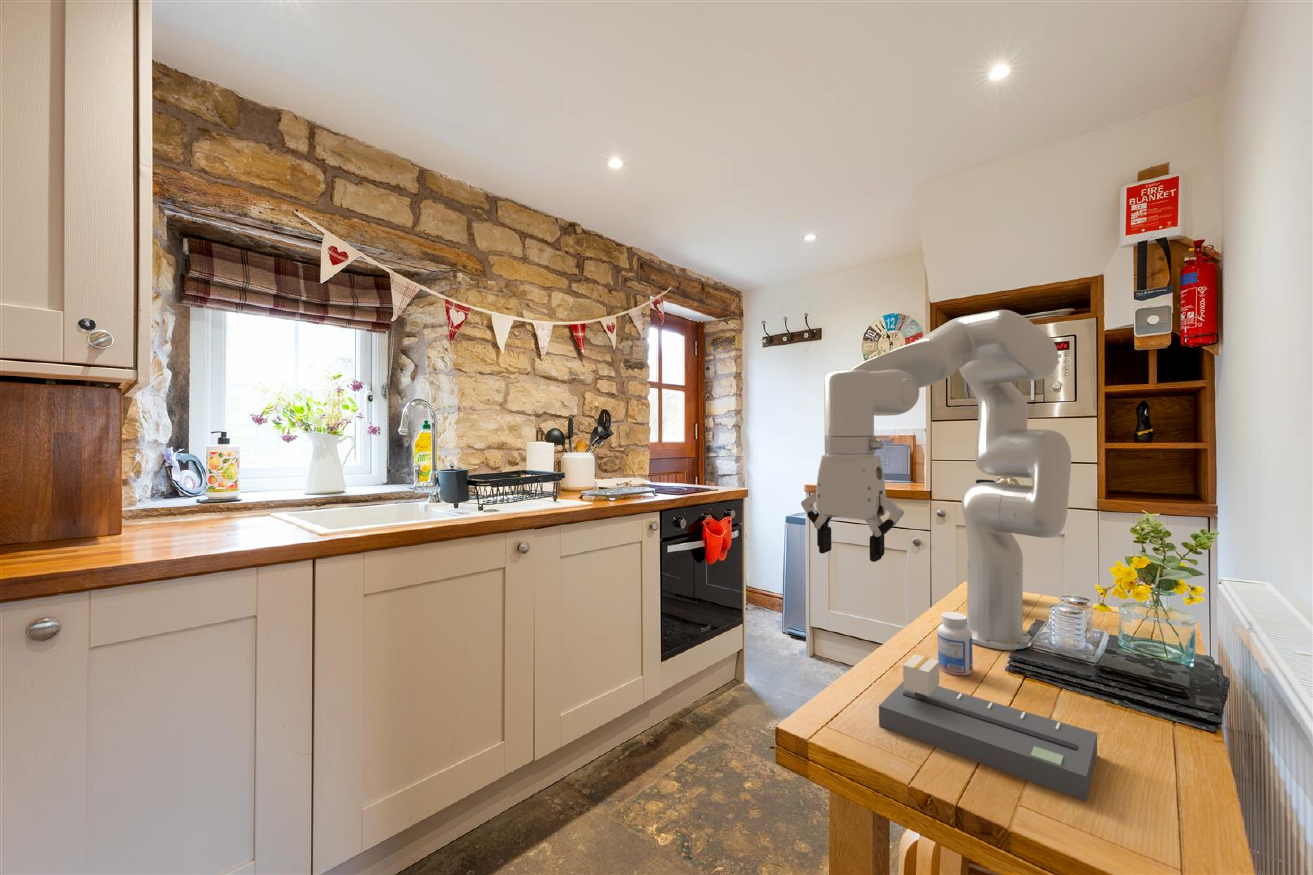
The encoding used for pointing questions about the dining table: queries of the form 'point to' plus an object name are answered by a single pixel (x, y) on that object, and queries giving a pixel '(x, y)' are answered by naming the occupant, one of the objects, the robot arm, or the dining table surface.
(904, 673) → the fader
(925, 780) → the dining table surface
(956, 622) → the pill bottle
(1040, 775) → the console
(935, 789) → the dining table surface
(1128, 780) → the dining table surface
